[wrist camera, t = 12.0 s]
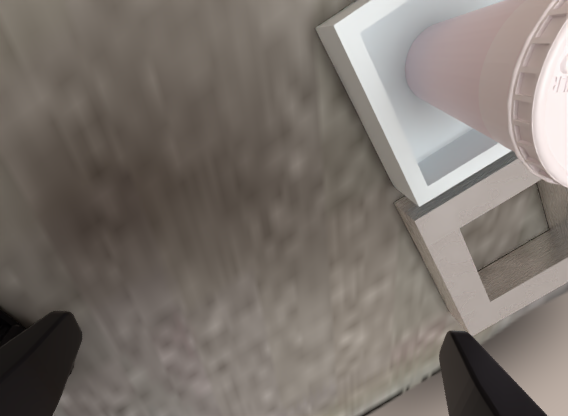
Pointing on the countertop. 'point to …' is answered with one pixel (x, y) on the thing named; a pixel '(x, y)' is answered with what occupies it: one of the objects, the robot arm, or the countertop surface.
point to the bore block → (507, 270)
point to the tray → (404, 94)
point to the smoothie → (502, 78)
